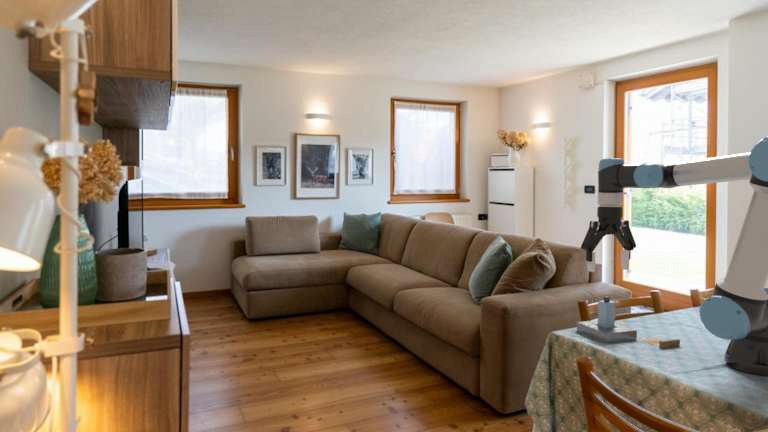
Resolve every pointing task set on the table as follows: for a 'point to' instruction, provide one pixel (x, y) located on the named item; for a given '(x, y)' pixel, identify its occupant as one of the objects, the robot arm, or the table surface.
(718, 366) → the table surface
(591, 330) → the panel
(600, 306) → the grey square bottle
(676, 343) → the holster
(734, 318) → the robot arm
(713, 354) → the table surface
